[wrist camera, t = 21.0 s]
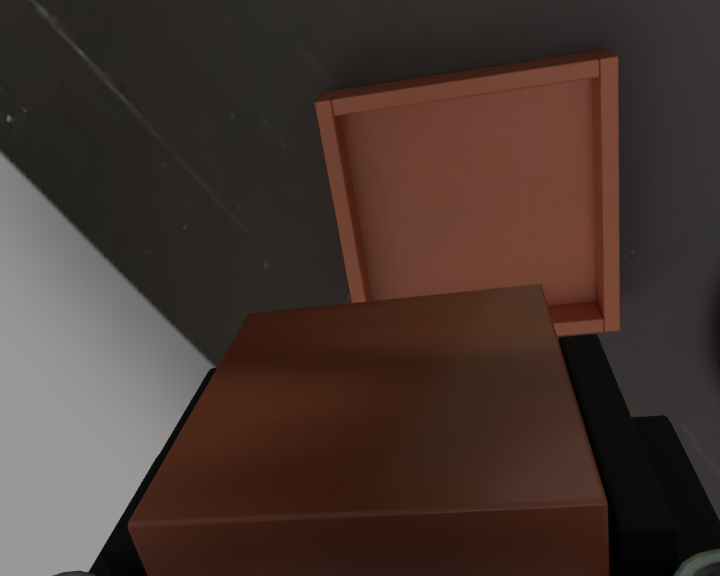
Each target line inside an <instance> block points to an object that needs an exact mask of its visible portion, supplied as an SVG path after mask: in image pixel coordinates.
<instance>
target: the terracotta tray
mask: <svg viewBox="0 0 720 576" xmlns="http://www.w3.org/2000/svg"><path fill="white" fill-rule="evenodd" d="M315 108H316V114H317V119H318V124H319V130H320V135H321V140H322V146H323V151H324V156H325V162H326V167H327V172H328V178H329V183H330V188H331V194H332V199H333V204H334V210H335V215H336V220H337V226H338V231H339V236H340V242H341V247H342V252H343V258H344V263H345V269H346V274H347V279H348V285H349V290H350V295H351V301H352V303H358V302H368V301H377V300H387V299H397V298H407V297H416V296H426V295H436V294H445V293H455V292H465V291H475V290H484V289H494V288H504V287H514V286H523V285H533V284H541V286H542V288H543V291H544V294H545V298H546V301H547V304H548V308H549V311H550V314H551V317H552V321H553V324H554V327H555V331H556V334H557V336H561V335H573V334H585V333H596V332H604V331H605V332H609V331H619V330H620V186H619V57H618V56H617V55H615V54H613V53H611V52H608V51H607V50H605V49H603V50H596V51H590V52H583V53H577V54H570V55H564V56H557V57H551V58H544V59H538V60H531V61H525V62H518V63H512V64H505V65H499V66H492V67H486V68H479V69H473V70H466V71H460V72H453V73H447V74H440V75H434V76H427V77H421V78H414V79H408V80H401V81H395V82H388V83H382V84H375V85H369V86H362V87H356V88H349V89H343V90H336V91H330V92H324V93H323V94H322V96H321V97H320V98H319V99H318V100H317V101H316V102H315Z"/></svg>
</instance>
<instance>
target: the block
mask: <svg viewBox="0 0 720 576" xmlns="http://www.w3.org/2000/svg"><path fill="white" fill-rule="evenodd" d="M128 530H129V532H130V535H131V537H132V539H133V542H134V544H135V547H136V549H137V552H138V554H139V557H140V559H141V562H142V564H143V566H144V569H145V571H146V574H147V576H610V568H609V528H608V502H607V498H606V495H605V492H604V488H603V485H602V482H601V479H600V475H599V472H598V469H597V465H596V462H595V459H594V456H593V452H592V449H591V446H590V442H589V439H588V436H587V433H586V429H585V426H584V423H583V419H582V416H581V413H580V410H579V406H578V403H577V400H576V396H575V393H574V390H573V386H572V383H571V380H570V377H569V373H568V370H567V367H566V363H565V360H564V357H563V354H562V350H561V347H560V344H559V340H558V337H557V334H556V331H555V327H554V324H553V321H552V317H551V314H550V311H549V308H548V304H547V301H546V298H545V294H544V291H543V288H542V286H541V284H533V285H523V286H514V287H504V288H494V289H484V290H475V291H465V292H455V293H445V294H436V295H426V296H416V297H407V298H397V299H387V300H377V301H368V302H358V303H348V304H339V305H329V306H319V307H309V308H300V309H290V310H280V311H271V312H261V313H251V314H248V315H247V317H246V318H245V320H244V322H243V324H242V325H241V327H240V329H239V331H238V332H237V334H236V336H235V338H234V339H233V341H232V343H231V345H230V346H229V348H228V350H227V352H226V353H225V355H224V357H223V358H222V360H221V362H220V364H219V365H218V367H217V369H216V371H215V372H214V374H213V376H212V378H211V379H210V381H209V383H208V385H207V386H206V388H205V390H204V392H203V393H202V395H201V397H200V399H199V400H198V402H197V404H196V405H195V407H194V409H193V411H192V412H191V414H190V416H189V418H188V419H187V421H186V423H185V425H184V426H183V428H182V430H181V432H180V433H179V435H178V437H177V439H176V440H175V442H174V444H173V445H172V447H171V449H170V451H169V452H168V454H167V456H166V458H165V459H164V461H163V463H162V465H161V466H160V468H159V470H158V472H157V473H156V475H155V477H154V479H153V480H152V482H151V484H150V486H149V487H148V489H147V491H146V492H145V494H144V496H143V498H142V499H141V501H140V503H139V505H138V506H137V508H136V510H135V512H134V513H133V515H132V517H131V519H130V520H129V522H128Z"/></svg>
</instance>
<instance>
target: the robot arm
mask: <svg viewBox="0 0 720 576" xmlns="http://www.w3.org/2000/svg"><path fill="white" fill-rule="evenodd" d="M559 344H560V347H561V350H562V354H563V357H564V360H565V363H566V367H567V370H568V373H569V377H570V380H571V383H572V386H573V390H574V393H575V396H576V400H577V403H578V406H579V410H580V413H581V416H582V419H583V423H584V426H585V429H586V433H587V436H588V439H589V442H590V446H591V449H592V452H593V456H594V459H595V462H596V465H597V469H598V472H599V475H600V479H601V482H602V485H603V488H604V492H605V495H606V498H607V502H608V528H609V568H610V576H720V521H719V519H718V517H717V515H716V513H715V511H714V509H713V507H712V505H711V503H710V501H709V499H708V497H707V495H706V493H705V491H704V489H703V487H702V485H701V482H700V480H699V478H698V476H697V474H696V472H695V470H694V468H693V466H692V464H691V462H690V460H689V458H688V456H687V454H686V452H685V450H684V448H683V446H682V444H681V442H680V440H679V438H678V436H677V434H676V432H675V430H674V428H673V426H672V424H671V422H670V421H669V419H668V418H667V417H666V416H664V415H662V416H647V417H632V418H631V416H630V413H629V411H628V408H627V406H626V404H625V401H624V399H623V396H622V394H621V391H620V389H619V387H618V384H617V382H616V379H615V377H614V374H613V372H612V370H611V367H610V365H609V362H608V360H607V357H606V355H605V353H604V350H603V348H602V345H601V343H600V340H599V338H598V336H597V335H596V334H593V335H581V336H570V337H559ZM216 369H217V368H212V369H210V370H209V372H208V373H207V375H206V376H205V378H204V380H203V381H202V383H201V385H200V387H199V389H198V390H197V392H196V393H195V395H194V397H193V399H192V400H191V402H190V404H189V405H188V407H187V409H186V410H185V412H184V414H183V416H182V417H181V419H180V420H179V422H178V424H177V426H176V427H175V429H174V431H173V432H172V434H171V436H170V437H169V439H168V441H167V442H166V444H165V446H164V447H163V450H162V451H161V453H160V454H159V455H158V456H157V458H156V459H155V461H154V463H153V464H152V466H151V468H150V469H149V471H148V473H147V474H146V476H145V478H144V480H143V481H142V483H141V485H140V486H139V488H138V490H137V492H136V493H135V495H134V497H133V498H132V500H131V502H130V503H129V505H128V506H127V508H126V510H125V512H124V513H123V515H122V517H121V518H120V520H119V522H118V523H117V525H116V527H115V528H114V530H113V532H112V533H111V535H110V537H109V539H108V540H107V542H106V544H105V545H104V547H103V549H102V550H101V552H100V554H99V555H98V557H97V559H96V560H95V562H94V564H93V565H92V567H91V569H90V571H89V572H83V571H72V572H63V573H60V574H57V575H54V576H147V574H146V571H145V569H144V566H143V564H142V562H141V559H140V557H139V554H138V552H137V549H136V547H135V544H134V542H133V539H132V537H131V535H130V532H129V530H128V522H129V520H130V519H131V517H132V515H133V513H134V512H135V510H136V508H137V506H138V505H139V503H140V501H141V499H142V498H143V496H144V494H145V492H146V491H147V489H148V487H149V486H150V484H151V482H152V480H153V479H154V477H155V475H156V473H157V472H158V470H159V468H160V466H161V465H162V463H163V461H164V459H165V458H166V456H167V454H168V452H169V451H170V449H171V447H172V445H173V444H174V442H175V440H176V439H177V437H178V435H179V433H180V432H181V430H182V428H183V426H184V425H185V423H186V421H187V419H188V418H189V416H190V414H191V412H192V411H193V409H194V407H195V405H196V404H197V402H198V400H199V399H200V397H201V395H202V393H203V392H204V390H205V388H206V386H207V385H208V383H209V381H210V379H211V378H212V376H213V374H214V372H215V371H216Z"/></svg>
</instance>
